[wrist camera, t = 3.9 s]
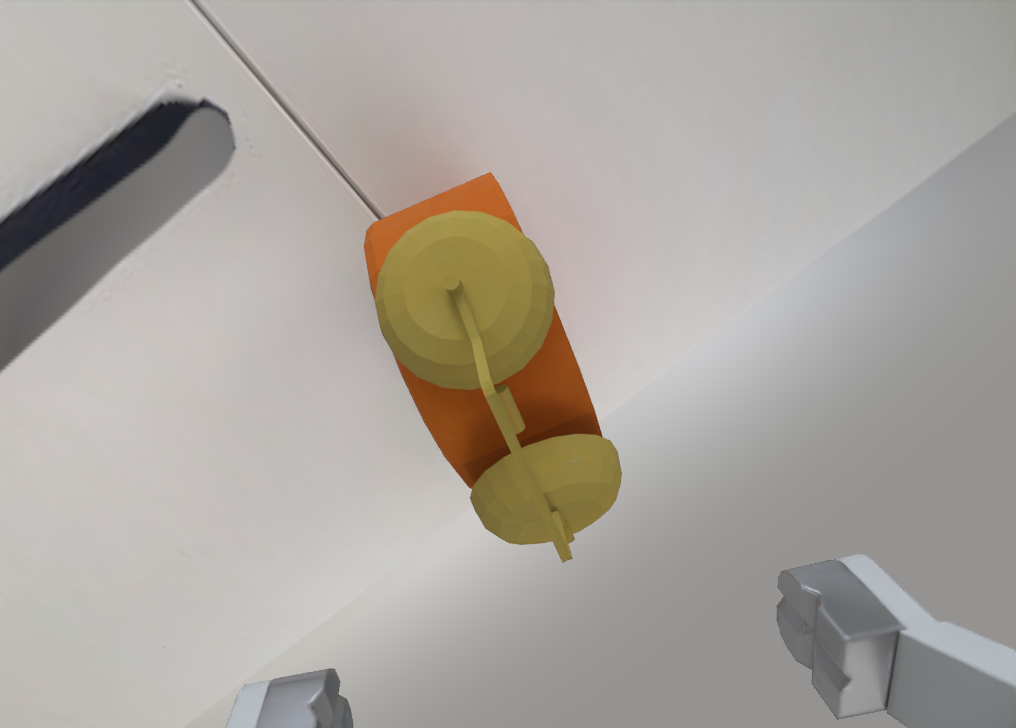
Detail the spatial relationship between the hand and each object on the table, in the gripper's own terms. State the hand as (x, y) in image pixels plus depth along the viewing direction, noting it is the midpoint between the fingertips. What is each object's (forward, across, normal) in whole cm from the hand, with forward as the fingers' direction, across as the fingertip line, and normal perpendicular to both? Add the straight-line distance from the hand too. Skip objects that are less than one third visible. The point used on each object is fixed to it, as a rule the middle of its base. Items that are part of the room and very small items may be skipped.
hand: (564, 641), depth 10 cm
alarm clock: (+25, 0, 0) cm, 25 cm away
